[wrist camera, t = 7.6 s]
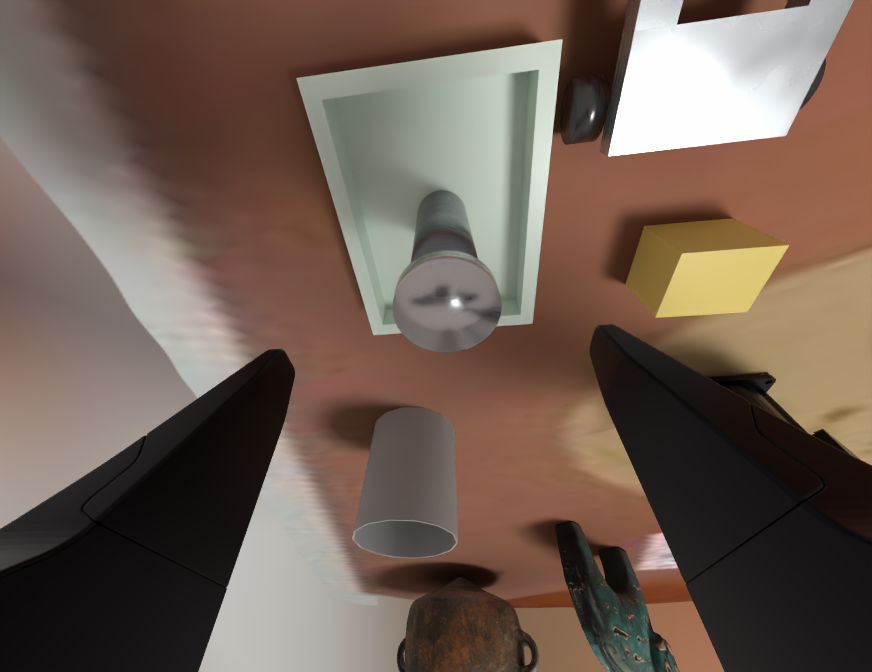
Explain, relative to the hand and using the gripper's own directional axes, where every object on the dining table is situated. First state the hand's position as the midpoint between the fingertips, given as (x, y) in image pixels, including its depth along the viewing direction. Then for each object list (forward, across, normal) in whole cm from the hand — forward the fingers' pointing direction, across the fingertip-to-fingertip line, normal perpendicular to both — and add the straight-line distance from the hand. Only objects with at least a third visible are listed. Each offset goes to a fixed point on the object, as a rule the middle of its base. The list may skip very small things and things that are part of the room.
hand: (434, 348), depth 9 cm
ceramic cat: (+12, -19, +54) cm, 59 cm away
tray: (+12, 0, 0) cm, 12 cm away
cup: (+12, +5, +22) cm, 26 cm away
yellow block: (+12, -15, +4) cm, 20 cm away
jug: (+12, +3, +74) cm, 75 cm away
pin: (+12, 0, 0) cm, 12 cm away
